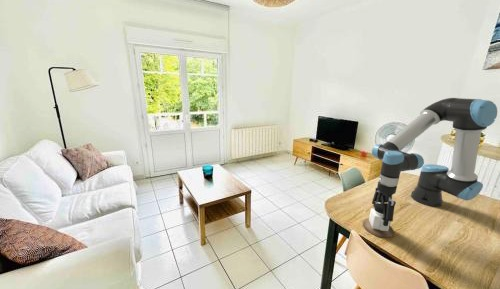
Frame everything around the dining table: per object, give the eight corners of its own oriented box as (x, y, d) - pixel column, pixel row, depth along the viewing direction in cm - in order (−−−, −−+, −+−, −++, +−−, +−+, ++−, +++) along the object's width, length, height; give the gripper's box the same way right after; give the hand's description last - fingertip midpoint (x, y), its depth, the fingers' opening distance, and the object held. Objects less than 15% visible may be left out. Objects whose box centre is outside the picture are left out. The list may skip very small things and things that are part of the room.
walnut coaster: (382, 220, 110) (383, 218, 110) (399, 238, 98) (399, 236, 98) (358, 220, 111) (358, 218, 110) (371, 237, 98) (372, 235, 98)
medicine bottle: (388, 231, 99) (393, 210, 96) (372, 228, 101) (376, 207, 98) (383, 222, 106) (388, 201, 103) (368, 219, 108) (372, 199, 104)
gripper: (369, 173, 107) (362, 211, 114) (390, 194, 87) (380, 238, 94) (384, 174, 106) (376, 212, 113) (409, 195, 87) (398, 239, 93)
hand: (378, 224), depth 104 cm, fingers closed on medicine bottle, 8 cm apart
